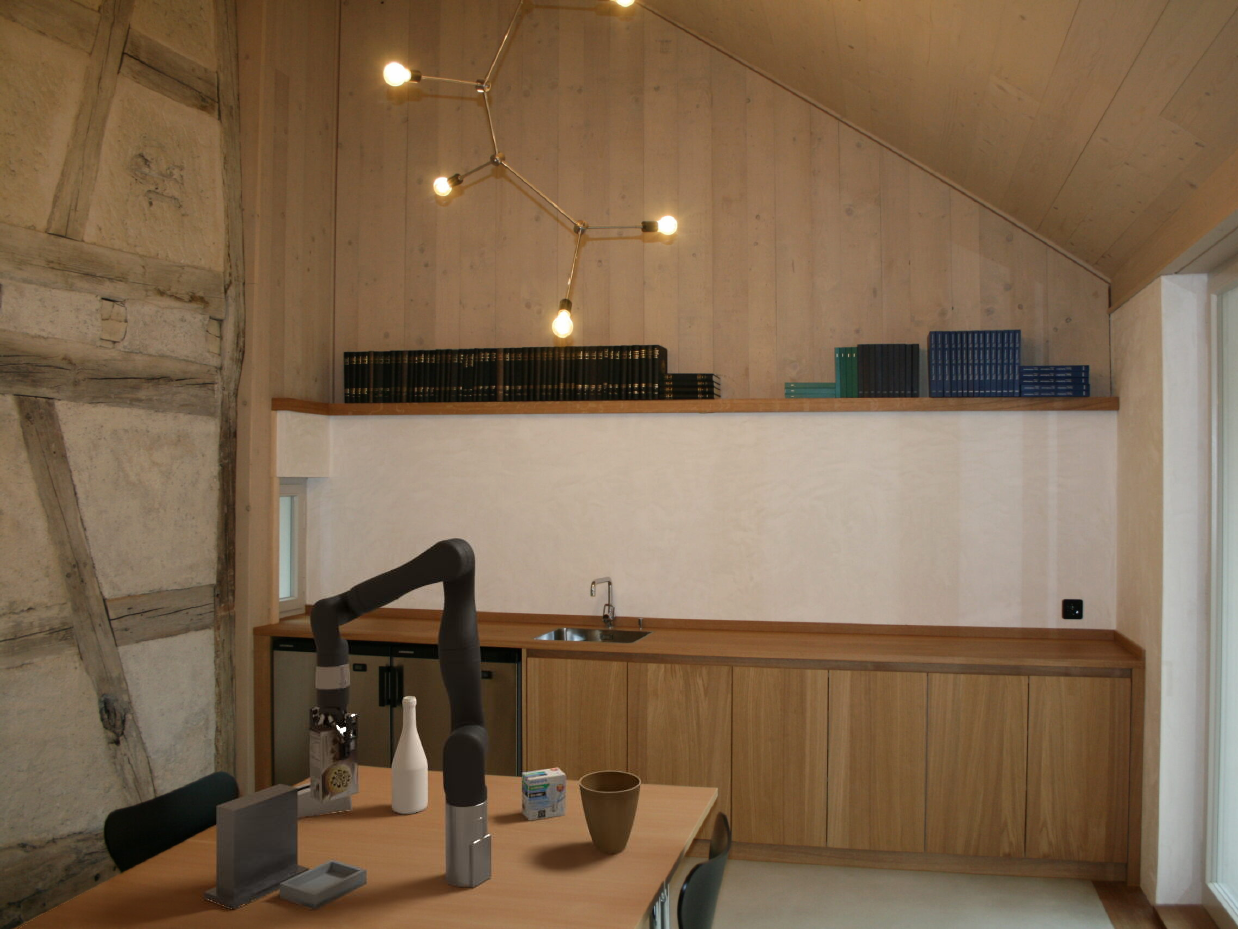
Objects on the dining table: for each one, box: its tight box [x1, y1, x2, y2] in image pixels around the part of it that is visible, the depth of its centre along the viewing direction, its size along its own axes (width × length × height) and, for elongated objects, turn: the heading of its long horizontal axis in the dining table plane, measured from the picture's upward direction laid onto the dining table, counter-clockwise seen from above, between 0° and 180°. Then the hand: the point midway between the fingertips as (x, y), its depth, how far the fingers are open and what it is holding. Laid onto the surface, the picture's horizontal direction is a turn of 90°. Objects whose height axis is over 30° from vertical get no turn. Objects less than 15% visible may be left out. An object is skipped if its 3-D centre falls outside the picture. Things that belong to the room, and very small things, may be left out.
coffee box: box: [308, 724, 360, 803], centre depth 201 cm, size 9×6×16 cm
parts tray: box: [279, 859, 368, 911], centre depth 189 cm, size 11×14×3 cm
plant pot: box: [578, 770, 642, 854], centre depth 211 cm, size 15×15×16 cm
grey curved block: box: [294, 782, 353, 819], centre depth 235 cm, size 17×5×10 cm, turn 110°
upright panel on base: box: [203, 783, 310, 910], centre depth 192 cm, size 10×19×20 cm, turn 149°
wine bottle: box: [391, 695, 429, 815], centre depth 238 cm, size 10×10×30 cm
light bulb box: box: [521, 766, 567, 821], centre depth 233 cm, size 11×7×11 cm, turn 114°
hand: (333, 756), depth 201 cm, fingers closed on coffee box, 7 cm apart
